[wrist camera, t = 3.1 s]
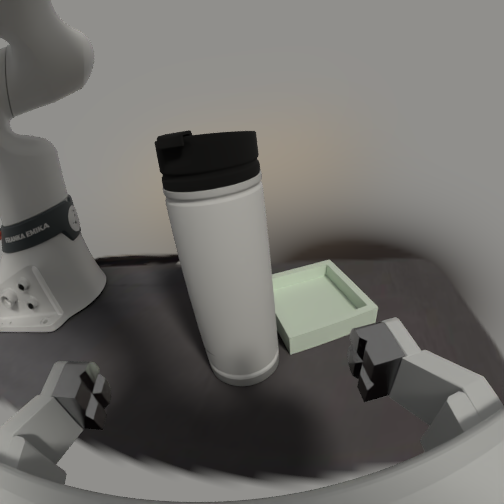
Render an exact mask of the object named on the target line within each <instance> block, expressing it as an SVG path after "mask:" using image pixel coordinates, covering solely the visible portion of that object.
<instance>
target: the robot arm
mask: <svg viewBox="0 0 504 504" xmlns="http://www.w3.org/2000/svg"><path fill="white" fill-rule="evenodd" d="M0 38H3V39H4V40H6V41H7V42H8V43H9V44H10V45H8V46H7V47H5V48H2V49H0V218H1V220H2V224H3V225H2V226H1V228H0V240H1V239H2V251H3V254H2V257H1V259H0V332H52V331H55V330H56V329H58V328H59V327H60V326H61V325H62V324H63V323H64V322H65V321H66V320H67V319H68V318H69V317H71V316H72V315H74V314H75V313H77V312H79V311H80V310H82V309H83V308H85V307H86V306H88V305H89V304H90V303H91V302H92V301H93V300H95V299H96V298H97V296H98V295H99V294H100V293H101V291H102V290H103V288H104V286H105V284H106V275H105V274H104V272H103V271H102V270H101V269H100V267H99V266H98V264H97V263H96V261H95V260H94V258H93V257H92V255H91V253H90V251H89V249H88V247H87V246H86V243H85V242H84V239H83V237H82V235H81V232H80V231H81V228H80V224H79V219H78V216H77V212H76V209H75V207H74V205H73V202H72V198H71V196H70V195H68V194H67V191H66V187H65V184H64V179H63V176H62V171H61V167H60V163H59V158H58V154H57V150H56V148H55V147H54V145H53V144H52V143H51V142H49V141H48V140H46V139H44V138H40V137H35V136H29V135H19V134H16V133H14V132H13V131H12V130H11V128H10V120H11V119H12V118H14V117H15V116H17V115H20V114H23V113H25V112H28V111H31V110H33V109H36V108H39V107H42V106H45V105H48V104H50V103H54V102H56V101H58V100H60V99H62V98H64V97H66V96H68V95H70V94H72V93H74V92H75V91H78V90H79V89H82V87H83V86H84V85H85V83H86V82H87V80H88V79H89V77H90V74H91V72H92V69H93V64H94V51H93V47H92V44H91V42H90V41H89V39H88V38H87V36H86V35H85V34H83V33H82V32H81V31H79V30H76V29H74V28H72V27H70V26H69V25H67V24H66V23H65V22H63V20H62V19H60V17H59V16H58V15H57V14H56V12H55V10H54V8H53V6H52V3H51V0H0ZM350 340H351V342H352V345H351V346H350V347H349V348H348V364H349V367H350V371H351V373H352V375H353V376H354V377H355V378H357V379H359V381H358V386H357V387H358V389H359V392H360V394H361V396H362V398H363V401H364V402H368V401H372V400H375V399H379V398H382V397H385V396H388V395H389V397H390V398H391V399H393V400H394V401H396V402H397V403H398V404H400V405H401V406H403V407H404V408H405V409H407V410H408V411H410V412H411V413H413V414H414V415H415V416H417V417H418V418H420V419H421V420H422V421H424V422H425V423H427V424H428V425H430V426H429V428H428V429H427V431H426V432H425V433H424V435H423V436H422V438H421V440H420V442H421V444H422V446H423V448H424V451H425V453H422V454H420V455H418V456H416V457H413V458H411V459H409V460H406V461H404V462H401V463H399V464H396V465H394V466H391V467H389V468H386V469H383V470H380V471H378V472H375V473H372V474H369V475H366V476H363V477H360V478H356V479H353V480H350V481H346V482H343V483H339V484H335V485H331V486H327V487H323V488H319V489H315V490H310V491H305V492H300V493H294V494H289V495H283V496H276V497H269V498H262V499H252V500H242V501H227V502H169V501H154V500H144V499H135V498H127V497H119V496H113V495H108V494H102V493H97V492H92V491H88V490H83V489H79V488H75V487H71V486H67V485H64V484H65V479H66V473H65V471H64V470H62V469H61V468H60V467H58V466H57V465H56V464H57V462H58V461H59V460H60V459H61V457H62V456H63V455H64V454H65V452H66V451H67V450H68V449H69V447H70V446H71V445H72V444H73V442H74V441H75V440H76V439H77V437H78V436H79V435H80V434H81V432H82V431H83V429H94V430H103V429H104V424H105V420H106V416H107V414H106V411H105V408H106V407H107V406H108V405H109V404H110V400H111V388H110V386H109V383H108V381H107V380H106V378H104V377H103V376H101V375H100V374H99V370H100V369H99V368H98V366H97V365H96V364H95V363H94V362H74V361H58V362H56V363H55V364H54V366H53V368H52V370H51V372H50V374H49V376H48V379H47V381H46V383H45V385H44V388H43V390H42V392H41V394H40V395H37V396H36V397H34V398H33V399H32V400H31V401H30V402H29V403H27V404H26V405H25V406H24V407H23V408H22V409H20V410H19V411H18V412H17V413H16V414H15V415H14V416H12V417H11V418H10V419H9V420H8V421H7V422H6V423H5V424H3V425H2V426H1V427H0V504H504V406H503V404H502V403H501V401H500V400H499V398H498V397H497V395H496V394H495V392H494V391H493V389H492V388H491V386H490V385H489V383H488V382H487V381H486V379H485V378H484V377H483V376H481V375H479V374H476V373H474V372H472V371H470V370H468V369H465V368H463V367H461V366H459V365H457V364H455V363H453V362H450V361H448V360H446V359H444V358H442V357H440V356H438V355H435V354H433V353H431V352H429V351H427V350H423V351H421V350H420V348H419V347H418V345H417V344H416V342H415V341H414V340H413V338H412V337H411V335H410V334H409V333H408V331H407V330H406V328H405V327H404V326H403V324H402V323H401V322H400V320H399V319H398V318H396V317H395V318H391V319H388V320H384V321H381V322H376V323H373V324H369V325H365V326H361V327H357V328H353V329H352V330H351V332H350Z"/></svg>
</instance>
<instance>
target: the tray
mask: <svg viewBox="0 0 504 504" xmlns="http://www.w3.org/2000/svg"><path fill="white" fill-rule="evenodd" d="M272 282H273V293H274V303H275V315H276V326H277V331H278V333H279V334H280V336H281V338H282V340H283V342H284V344H285V346H286V348H287V349H288V351H289V353H290V355H291V354H294V353H297V352H300V351H303V350H306V349H309V348H312V347H315V346H318V345H321V344H323V343H326V342H329V341H332V340H335V339H337V338H340V337H343V336H345V335H348V334H350V332H351V330H352V329H353V328H357V327H361V326H365V325H369V324H373V323H375V322H376V317H377V311H378V307H377V306H376V305H375V304H374V303H373V302H372V301H371V300H370V299H369V298H368V297H367V296H366V295H365V294H364V293H363V292H362V291H361V290H360V289H359V288H358V287H357V286H356V285H355V284H354V283H353V282H352V281H351V280H350V279H349V278H348V277H347V276H346V275H345V274H344V273H343V272H342V271H341V270H340V269H339V268H338V267H337V266H336V265H335V264H334V263H332V262H331V261H330V260H326V261H323V262H319V263H315V264H311V265H307V266H304V267H300V268H296V269H292V270H288V271H284V272H280V273H277V274H273V275H272Z"/></svg>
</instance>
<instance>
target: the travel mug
mask: <svg viewBox="0 0 504 504" xmlns="http://www.w3.org/2000/svg"><path fill="white" fill-rule="evenodd" d="M155 147H156V152H157V158H158V163H159V168H160V172H161V173H162V174H163V177H162V183H163V192H164V195H165V196H166V206H167V210H168V215H169V219H170V223H171V228H172V232H173V236H174V240H175V244H176V248H177V252H178V256H179V260H180V264H181V267H182V271H183V275H184V279H185V282H186V286H187V290H188V293H189V297H190V300H191V304H192V307H193V311H194V314H195V317H196V321H197V324H198V327H199V331H200V334H201V337H202V340H203V343H204V347H205V350H206V353H207V356H208V358H209V362H210V365H211V368H212V370H213V372H214V374H215V375H216V377H217V378H218V379H220V380H221V381H223V382H225V383H227V384H230V385H234V386H250V385H254V384H257V383H259V382H262V381H264V380H265V379H267V378H268V377H269V376H270V375H271V374H272V373H273V372H274V371H275V369H276V368H277V366H278V363H279V349H278V338H277V326H276V315H275V303H274V293H273V282H272V271H271V261H270V251H269V241H268V231H267V222H266V211H265V203H264V192H263V184H262V182H261V178H262V174H261V170H260V164H259V161H258V160H257V157H258V147H257V138H256V132H255V131H238V132H222V133H210V134H200V135H192V133H191V131H183V132H177V133H171V134H165V135H162V136H158V138H157V141H155Z"/></svg>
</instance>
